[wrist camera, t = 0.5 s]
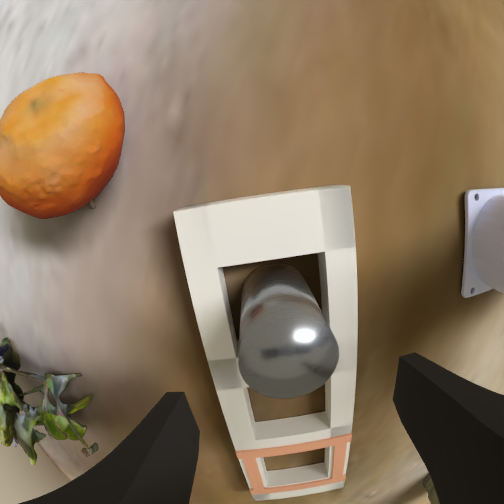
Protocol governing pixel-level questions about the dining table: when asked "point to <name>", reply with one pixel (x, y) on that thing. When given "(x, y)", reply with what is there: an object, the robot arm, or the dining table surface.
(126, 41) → the dining table surface
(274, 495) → the hole rail
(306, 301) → the metal peg
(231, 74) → the dining table surface
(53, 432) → the passion flower
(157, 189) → the dining table surface
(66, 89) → the fruit
